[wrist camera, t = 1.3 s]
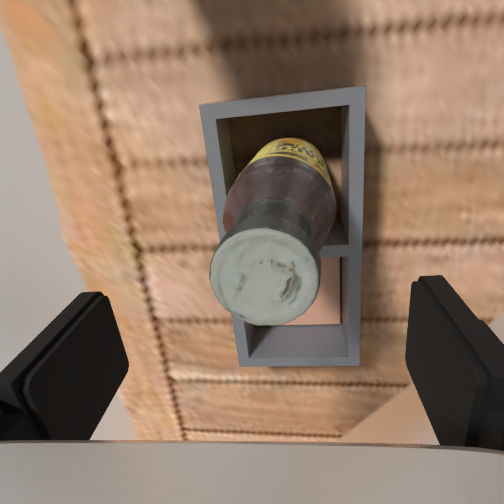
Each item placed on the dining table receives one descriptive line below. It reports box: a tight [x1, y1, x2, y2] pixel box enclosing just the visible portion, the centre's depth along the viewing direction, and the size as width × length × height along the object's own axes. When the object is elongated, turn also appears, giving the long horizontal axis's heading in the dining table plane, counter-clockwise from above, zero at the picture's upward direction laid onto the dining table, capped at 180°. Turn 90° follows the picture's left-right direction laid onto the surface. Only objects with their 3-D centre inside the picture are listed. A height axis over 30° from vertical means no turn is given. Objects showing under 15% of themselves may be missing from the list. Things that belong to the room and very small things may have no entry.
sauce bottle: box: [209, 137, 336, 326], centre depth 22 cm, size 7×6×20 cm
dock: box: [199, 86, 366, 367], centre depth 31 cm, size 11×23×5 cm, turn 6°
